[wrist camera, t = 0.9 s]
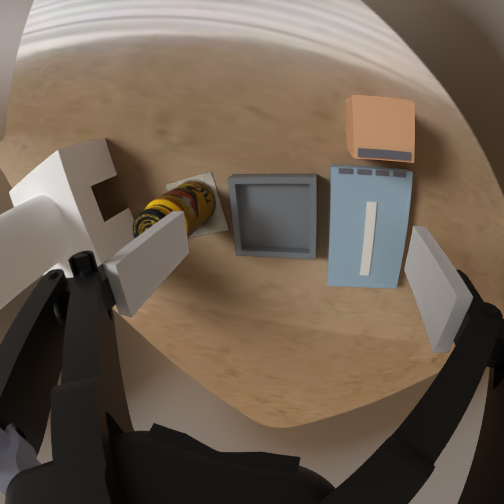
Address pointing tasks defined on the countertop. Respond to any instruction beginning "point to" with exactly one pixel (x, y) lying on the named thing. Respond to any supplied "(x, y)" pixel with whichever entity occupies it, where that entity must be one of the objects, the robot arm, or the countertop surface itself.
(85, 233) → the paper towel holder
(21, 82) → the countertop surface
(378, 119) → the stub
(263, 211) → the tray
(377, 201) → the board
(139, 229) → the condiment
